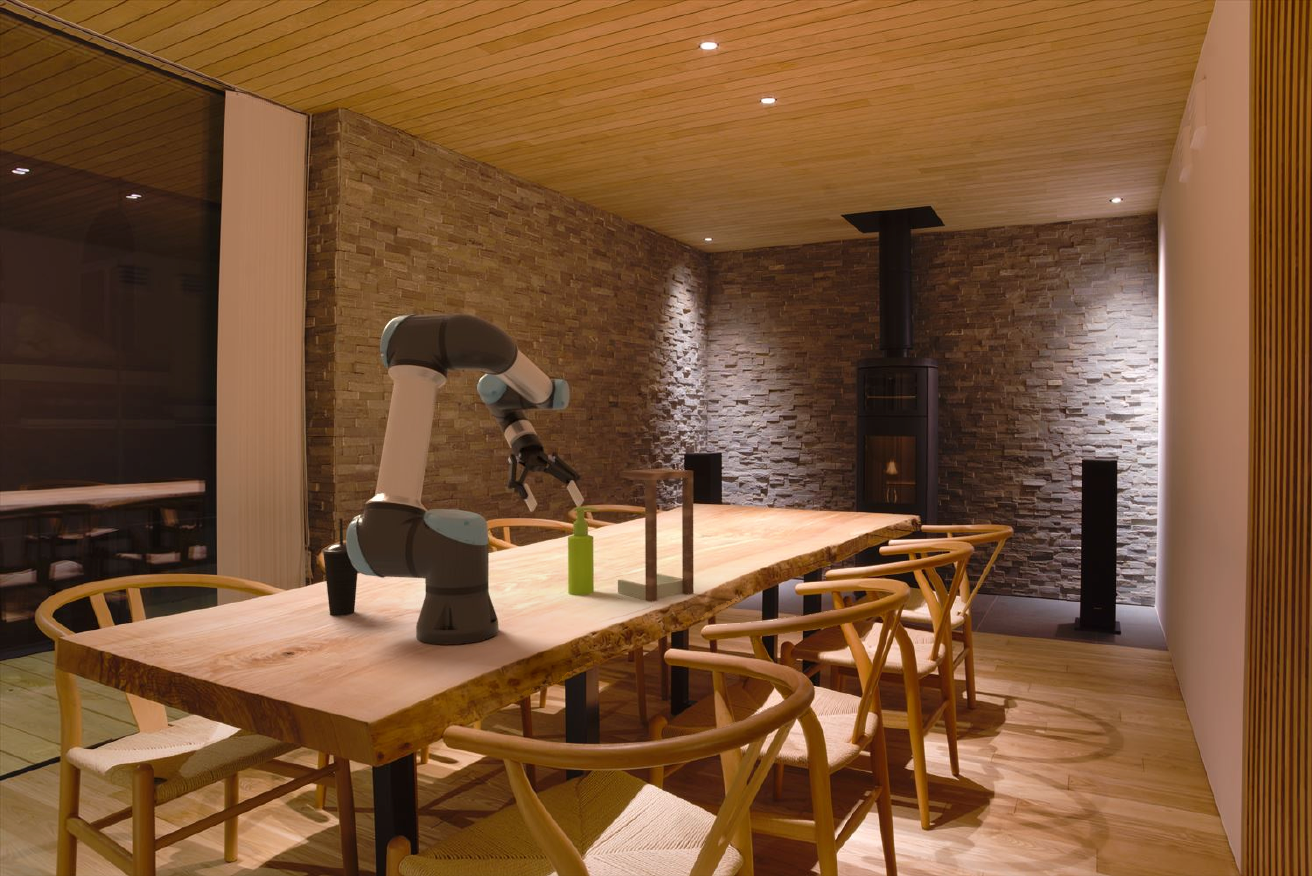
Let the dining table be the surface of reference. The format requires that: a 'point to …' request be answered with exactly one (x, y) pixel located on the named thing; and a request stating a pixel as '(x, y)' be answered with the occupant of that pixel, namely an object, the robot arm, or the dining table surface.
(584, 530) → the soap dispenser
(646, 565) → the wooden post arch
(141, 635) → the dining table surface
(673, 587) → the holder
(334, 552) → the drinking cup
